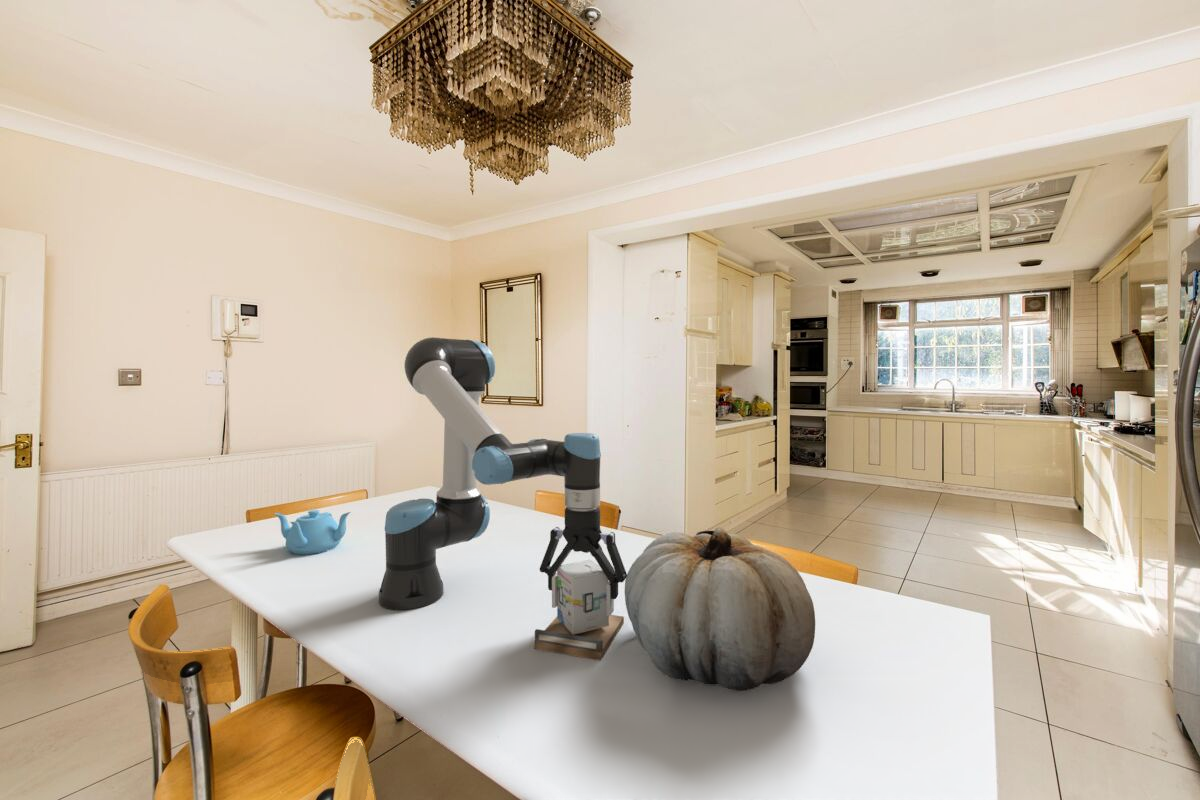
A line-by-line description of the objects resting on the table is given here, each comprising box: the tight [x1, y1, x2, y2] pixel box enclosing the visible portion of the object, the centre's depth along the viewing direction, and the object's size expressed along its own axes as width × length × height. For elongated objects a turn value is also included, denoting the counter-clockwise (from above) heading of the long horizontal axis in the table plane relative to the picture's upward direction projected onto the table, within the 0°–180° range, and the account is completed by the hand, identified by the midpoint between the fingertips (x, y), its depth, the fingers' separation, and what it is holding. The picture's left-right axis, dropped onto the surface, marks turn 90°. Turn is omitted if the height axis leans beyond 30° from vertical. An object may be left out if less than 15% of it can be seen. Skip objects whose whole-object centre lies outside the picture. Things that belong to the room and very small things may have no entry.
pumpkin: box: [624, 527, 816, 692], centre depth 98 cm, size 37×36×25 cm
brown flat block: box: [533, 614, 625, 661], centre depth 106 cm, size 14×16×4 cm
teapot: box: [273, 509, 352, 555], centre depth 164 cm, size 17×19×12 cm
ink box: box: [556, 559, 609, 635], centre depth 107 cm, size 9×8×12 cm
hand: (582, 609), depth 107 cm, fingers closed on ink box, 11 cm apart
